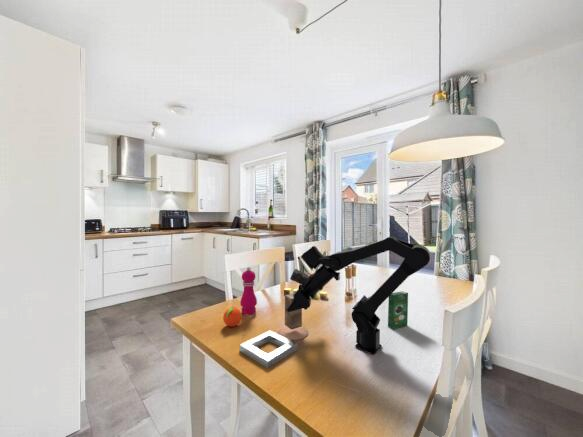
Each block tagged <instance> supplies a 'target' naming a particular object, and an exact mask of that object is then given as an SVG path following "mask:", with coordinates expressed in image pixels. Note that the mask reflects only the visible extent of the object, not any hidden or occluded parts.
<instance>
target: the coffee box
mask: <svg viewBox="0 0 583 437" xmlns="http://www.w3.org/2000/svg"><path fill="white" fill-rule="evenodd" d="M408 306H409V293H408V292H407V291H394V292H393V293H392V294H391V295H390V296H389V297H388V306H387V308H388V313H387V327H388V328H389V329H391V330H396V329H399V328H402V327H403V328H404V327H407V326H408V313H409V312H408V311H409V307H408Z"/></svg>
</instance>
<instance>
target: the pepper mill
mask: <svg viewBox="0 0 583 437" xmlns="http://www.w3.org/2000/svg"><path fill="white" fill-rule="evenodd" d="M241 279H242V281H243V282H242V286H243V292H242V295H241V298H240V303H239V304H240V306H241V311H240V312H241V315H245V316H250V315H254V314H255V313H256V310H257V308H256V306H257V304H258V300H257V297H256V295H255V290H254V285H255V280H256V273H255V272H254V271H253V270H251V267H249V266H247V267H246V270H245V271H243V272H242V274H241Z"/></svg>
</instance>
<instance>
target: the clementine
mask: <svg viewBox="0 0 583 437" xmlns="http://www.w3.org/2000/svg"><path fill="white" fill-rule="evenodd" d="M242 315H243V314H242V313H241V311H240V309H239V308H238V307H229V308H228V309H226V310H225V311H224V314H223V322H224V324H225V325H226V326H228V327H231V328H232V327H236V326H238V324H240V322H241V320H242Z"/></svg>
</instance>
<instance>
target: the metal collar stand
mask: <svg viewBox="0 0 583 437" xmlns="http://www.w3.org/2000/svg"><path fill="white" fill-rule="evenodd" d="M269 342H270V343H273V344H274V345H276V346H279V347H278V348H276V349H274V350H272V351H271V352H269V353H267V352H265V351H263V350H261V349H260V348H259V347H261V346H263V345H265V344H266V343H269ZM297 350H298V342H296V341H295V340H289V339H287V338H285V337H283V336H281V335H279V334H278V333H276V332H274V331H272V330H270V329H269V330H268V331H266V332H263V333H261V334H260V335H257V336H255V337H253V338H250V339H249V340H247V341H244V342H242V343H241V344H239V352H240V353H242V354H244V355H246V356H247V357H249V358H250V359H252V360H254V361H255V362H257V363H258V364H260V365H262V366H263V367H264V368H267V369H269V368H271V366H274V365H275V364H276V363H278V362H280V361H282V360H283V359H285V358H286V357H288V356H289V355H291V354H292V353H295V352H296V351H297Z"/></svg>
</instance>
